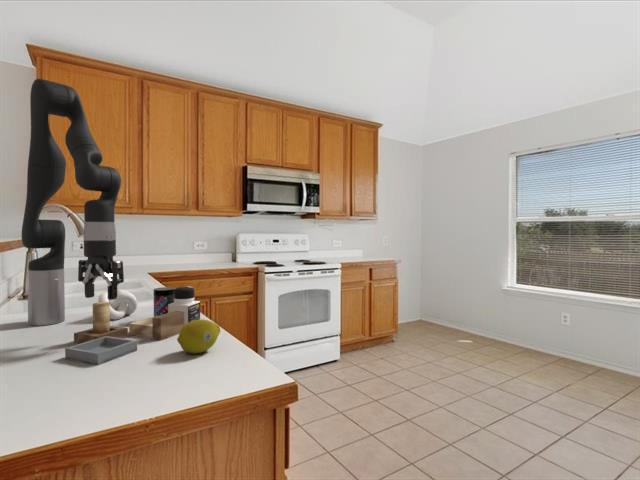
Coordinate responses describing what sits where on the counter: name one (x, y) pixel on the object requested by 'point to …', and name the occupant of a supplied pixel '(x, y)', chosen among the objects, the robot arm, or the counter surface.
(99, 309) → the dowel
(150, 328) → the light wooden block
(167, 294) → the supplement container
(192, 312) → the medicine bottle
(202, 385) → the counter surface
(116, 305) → the white knot sculpture
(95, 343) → the tray
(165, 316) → the block
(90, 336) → the socket block
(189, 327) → the lemon
